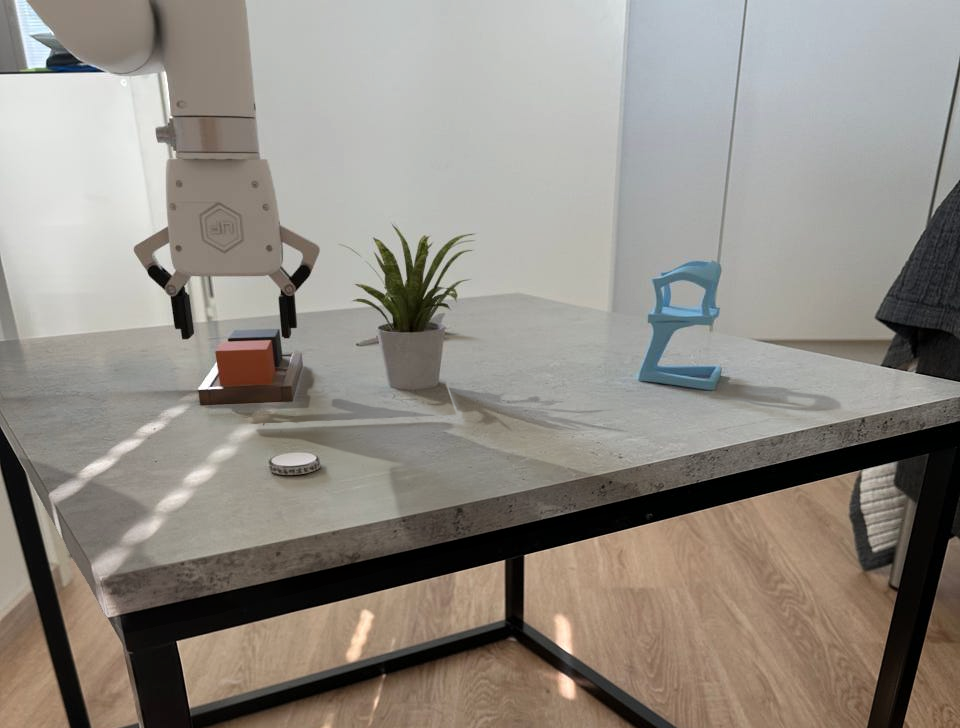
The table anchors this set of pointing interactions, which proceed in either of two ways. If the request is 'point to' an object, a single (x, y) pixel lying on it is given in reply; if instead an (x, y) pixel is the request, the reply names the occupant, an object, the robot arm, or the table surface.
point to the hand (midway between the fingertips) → (237, 336)
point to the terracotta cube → (245, 362)
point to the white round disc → (294, 463)
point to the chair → (681, 325)
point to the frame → (253, 387)
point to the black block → (261, 335)
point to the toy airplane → (436, 319)
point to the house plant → (411, 315)
